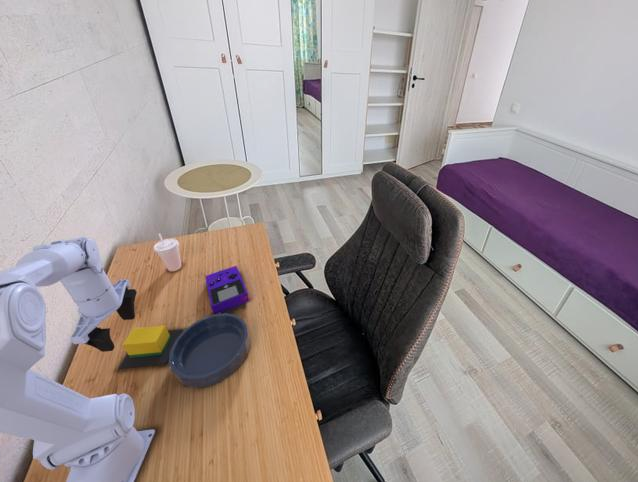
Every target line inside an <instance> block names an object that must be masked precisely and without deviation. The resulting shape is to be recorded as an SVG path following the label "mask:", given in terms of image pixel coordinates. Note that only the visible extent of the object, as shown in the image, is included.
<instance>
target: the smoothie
mask: <svg viewBox="0 0 638 482" xmlns="http://www.w3.org/2000/svg"><path fill="white" fill-rule="evenodd" d="M157 235H158V237H159V239H160V240H159V241H158V242H156V243H155V244H154V246H153V250H154V252H155V253H156V254H157V255H158V256H159V258H160V259H161V261H162V263H163V264H164V266H165V267H166V269H167V270H168V271H169V272H176V271H178V270H181V268H182V260H181V255H180V249H179V245H180V243H179V241H178V240H177V239H176V238H165V239H164V238H163V236H162V234H161V233H160V232H158V234H157Z"/></svg>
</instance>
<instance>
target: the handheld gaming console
mask: <svg viewBox="0 0 638 482" xmlns="http://www.w3.org/2000/svg"><path fill="white" fill-rule="evenodd" d="M204 277H205V283H206V287H207V292H208V296H209V301H210V308H211V310H212V312H213V315H214V314H223V313H228V314H230V313H232V312H235V311H236V310H239V309H241V308H244V304H246V303H249V301H250V298H249V293H248V291H247V289H246V285H245V283H244V280H243V279H242V278H243V277H242V276H241V273H240V270H239V268H238V265H234V266H231V267H228V268H224V269H221V270H219V271H216V272H212V273H210V274H207V275H205V276H204Z"/></svg>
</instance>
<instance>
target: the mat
mask: <svg viewBox="0 0 638 482" xmlns="http://www.w3.org/2000/svg"><path fill="white" fill-rule="evenodd" d="M167 330H168V329H167ZM183 331H184V329H183V328H180V329H169V330H168V332H169V334H170V336H171V339H170V341H169V343H168V345H167V347H166V349H165V351H164V353H163V355H153V356H143V357H132V358H130V356H129V355H128V353H127V352H126V355H125V356H124V358H123V360H122V361H121V363H120V365H119V366H118V370H125V369H135V368H146V367H153V366H163V365H167V364H169V355H170V350H171V348H172V346H173V344H174V342H175V340H176V339H177V338H178V337H179V336H180V335H181V333H182V332H183Z"/></svg>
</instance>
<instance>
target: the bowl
mask: <svg viewBox="0 0 638 482" xmlns="http://www.w3.org/2000/svg"><path fill="white" fill-rule="evenodd" d="M250 346H251V339H250V333H249V329H248V326H247V324H246V323H245V321H244V320H243V318H241V317H240V316H238V315H236V314H232V313H223V314H221V313H218V314H214V313H213V314H212V315H208V316H205V317H203V318H200V319H199V320H197V321H195V322H193V323H192V324H191V325H189V326H188V327H187V328H186V329H183V331H182V333H181V335H180V336H179V337H178V338H177V339H176V340H175V342H174V344H173V346H172V348H171V350H170V355H169V361H168V364H169V367H170V370H171V372H172V374H173V375H174V378H175V379H176V380H177V381H178V382H179V383H180V384H181V385H183V386H184V387H188V388H193V389H199V388H207V387H210V386H213V385H215V384H217V383H220V382H222V381H224V380H225V379H226V378H228V377H230V376H232V374H234V373H235V372H236V371H237V369H238V368H239V367H240V366H241V365H242V364H243V362H244V361H245V359H246V357H247V355H248V354H249V350H250Z"/></svg>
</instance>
